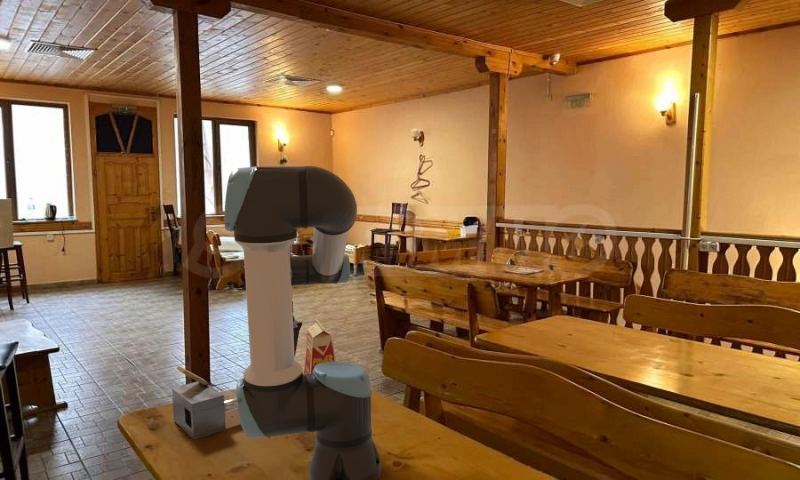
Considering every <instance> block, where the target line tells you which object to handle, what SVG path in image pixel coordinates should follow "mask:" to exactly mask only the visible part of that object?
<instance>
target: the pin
mask: <svg viewBox="0 0 800 480" xmlns="http://www.w3.org/2000/svg"><path fill="white" fill-rule="evenodd" d="M224 404H225V414H226V413H228V412H232V411H236V410H238V407H237V404H238V403H237V397H235V398H231V399H228V400H224Z"/></svg>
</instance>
